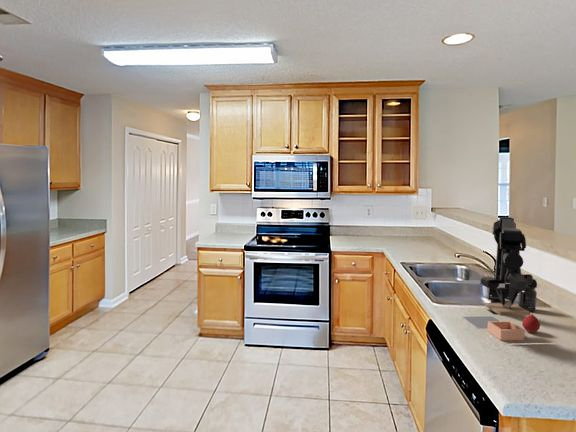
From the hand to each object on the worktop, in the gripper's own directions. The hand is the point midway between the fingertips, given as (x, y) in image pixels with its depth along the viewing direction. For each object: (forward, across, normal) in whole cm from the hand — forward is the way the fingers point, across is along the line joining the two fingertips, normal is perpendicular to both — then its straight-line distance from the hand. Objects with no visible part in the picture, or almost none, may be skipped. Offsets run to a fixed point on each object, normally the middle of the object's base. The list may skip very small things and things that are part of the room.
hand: (507, 304), depth 156 cm
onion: (+13, +12, +3) cm, 18 cm away
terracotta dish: (+12, 0, 0) cm, 13 cm away
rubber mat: (+12, 0, +14) cm, 19 cm away
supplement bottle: (+13, +28, +30) cm, 43 cm away
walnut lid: (+2, 0, 0) cm, 2 cm away
